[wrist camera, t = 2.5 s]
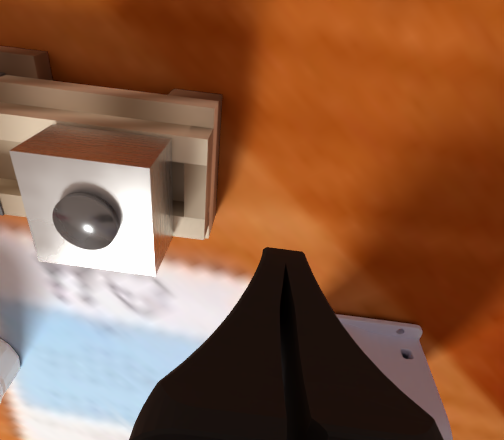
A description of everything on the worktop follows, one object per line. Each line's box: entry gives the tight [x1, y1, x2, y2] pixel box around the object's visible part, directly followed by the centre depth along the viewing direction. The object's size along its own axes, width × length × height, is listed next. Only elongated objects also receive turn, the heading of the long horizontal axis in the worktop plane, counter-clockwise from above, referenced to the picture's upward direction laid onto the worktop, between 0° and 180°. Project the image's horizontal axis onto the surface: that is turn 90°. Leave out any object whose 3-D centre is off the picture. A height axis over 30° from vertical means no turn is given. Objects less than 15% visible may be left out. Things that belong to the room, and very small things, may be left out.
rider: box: [9, 124, 173, 276], centre depth 16 cm, size 5×5×5 cm
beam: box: [0, 46, 222, 240], centre depth 19 cm, size 20×9×4 cm, turn 84°
